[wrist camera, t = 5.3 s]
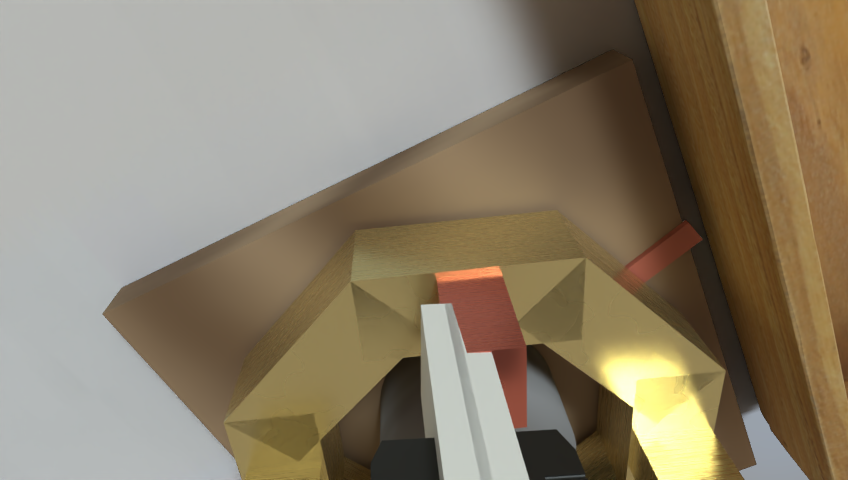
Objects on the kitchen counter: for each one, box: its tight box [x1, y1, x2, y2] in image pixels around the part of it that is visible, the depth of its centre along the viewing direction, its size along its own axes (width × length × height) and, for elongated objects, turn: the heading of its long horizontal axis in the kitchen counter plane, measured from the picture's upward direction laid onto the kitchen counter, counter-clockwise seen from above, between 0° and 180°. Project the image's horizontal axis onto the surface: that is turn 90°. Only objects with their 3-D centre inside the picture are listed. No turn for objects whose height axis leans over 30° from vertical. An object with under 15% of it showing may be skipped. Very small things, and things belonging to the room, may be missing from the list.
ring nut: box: [223, 210, 744, 480], centre depth 18 cm, size 14×14×6 cm
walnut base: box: [103, 50, 756, 471], centre depth 20 cm, size 17×17×4 cm
